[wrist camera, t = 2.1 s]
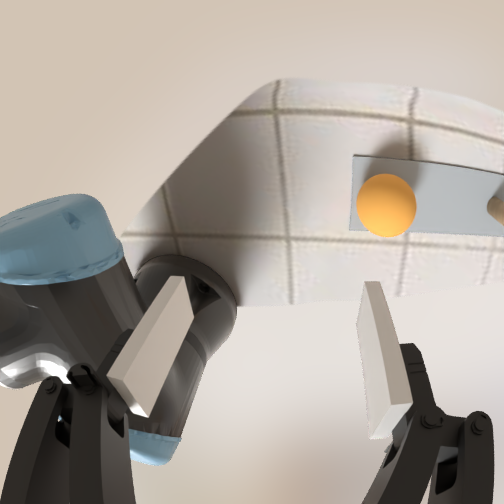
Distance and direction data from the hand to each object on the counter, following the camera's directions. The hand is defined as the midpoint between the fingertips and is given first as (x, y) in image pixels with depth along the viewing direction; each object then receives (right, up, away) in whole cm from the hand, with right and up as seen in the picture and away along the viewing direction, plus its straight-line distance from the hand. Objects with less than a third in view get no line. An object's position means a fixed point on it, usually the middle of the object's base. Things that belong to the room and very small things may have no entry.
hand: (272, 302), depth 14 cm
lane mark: (+23, +8, +11) cm, 27 cm away
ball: (+12, +7, +11) cm, 17 cm away
